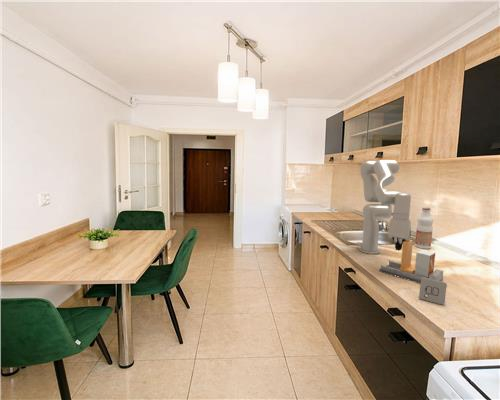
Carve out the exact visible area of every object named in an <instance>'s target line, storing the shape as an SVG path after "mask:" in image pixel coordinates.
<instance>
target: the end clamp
mask: <svg viewBox="0 0 500 400" xmlns="http://www.w3.org/2000/svg"><path fill="white" fill-rule="evenodd" d="M413 245H414V240H412V239H410V241H404V242H403V243H402V249H401V261H400V263H401V268H400V270H401V271H405V272H409V273H412V274H414V273H415V265H411V264H412V255H413Z"/></svg>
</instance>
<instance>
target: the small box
mask: <svg viewBox="0 0 500 400" xmlns="http://www.w3.org/2000/svg"><path fill="white" fill-rule="evenodd" d="M435 258H436V252H435V251H430V250H427V249H421V250H419V251H417V252H416V255H415V265H414V266H415V273H414V274H416V275H419V276H423V277H427V278H429V274H431V273H432V272H433V271H435V270H434V268H435V261H436V259H435Z"/></svg>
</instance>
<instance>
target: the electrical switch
mask: <svg viewBox="0 0 500 400" xmlns="http://www.w3.org/2000/svg"><path fill="white" fill-rule="evenodd" d="M419 287H420V288H419V293H418V298H419V299H420V300H423V301H426V302H431V303H435V304H438V305H442V306H443V305H445V304H446V295H447V287H448V284H447V282H445V281H437V280H432V279H428V278H421V283H420V286H419Z"/></svg>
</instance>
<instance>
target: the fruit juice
mask: <svg viewBox="0 0 500 400" xmlns="http://www.w3.org/2000/svg"><path fill="white" fill-rule="evenodd" d="M431 210H432V209H431V208H430V207H422V212H421V214H420V215H419V216H418V218H417V226H416V233H415V242H414V243H415V244H414V246H415V247H416V248H418V249H421V250H429V249H431V247H432V240H433V239H432V237H433V223H434V219H433V217H432V215H431Z"/></svg>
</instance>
